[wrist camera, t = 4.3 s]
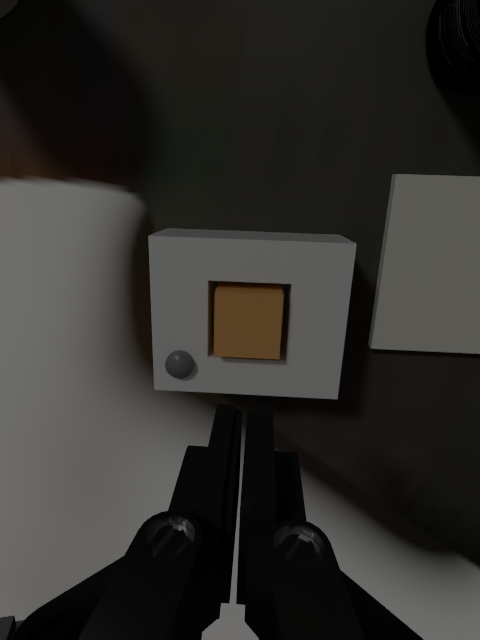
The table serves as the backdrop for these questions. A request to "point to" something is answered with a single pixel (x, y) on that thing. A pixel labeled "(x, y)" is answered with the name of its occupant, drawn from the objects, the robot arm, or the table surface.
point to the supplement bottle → (455, 44)
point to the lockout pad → (429, 266)
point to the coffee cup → (6, 6)
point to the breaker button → (248, 319)
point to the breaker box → (261, 267)
